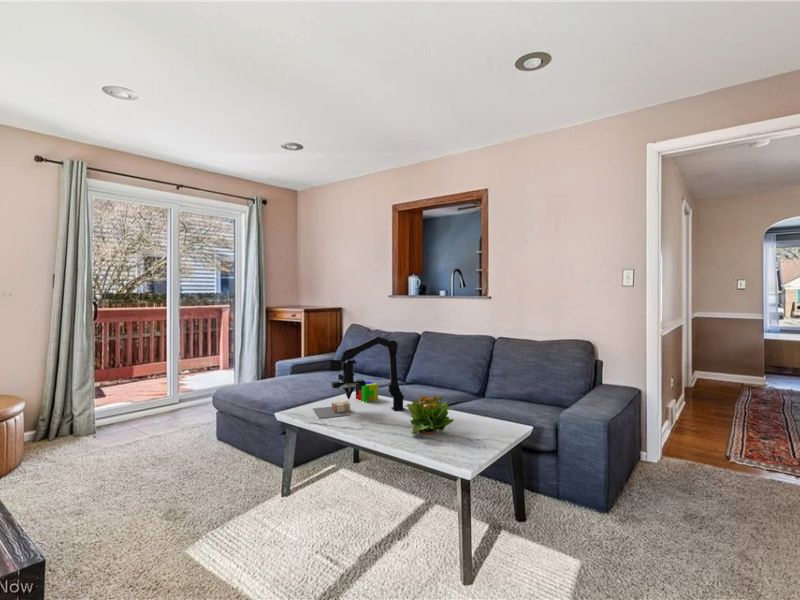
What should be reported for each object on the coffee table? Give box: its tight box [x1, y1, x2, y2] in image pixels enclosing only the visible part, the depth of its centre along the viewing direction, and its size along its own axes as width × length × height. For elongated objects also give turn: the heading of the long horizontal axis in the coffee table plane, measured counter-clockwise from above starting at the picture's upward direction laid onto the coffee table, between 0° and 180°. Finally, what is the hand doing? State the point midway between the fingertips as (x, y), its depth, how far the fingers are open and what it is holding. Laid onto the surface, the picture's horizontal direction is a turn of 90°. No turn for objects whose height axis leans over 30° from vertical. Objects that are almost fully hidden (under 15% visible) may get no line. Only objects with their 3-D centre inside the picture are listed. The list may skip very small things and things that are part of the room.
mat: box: [312, 406, 352, 419], centre depth 233 cm, size 20×17×1 cm
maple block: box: [331, 400, 351, 413], centre depth 235 cm, size 6×4×9 cm
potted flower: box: [405, 394, 454, 436], centre depth 201 cm, size 25×24×18 cm
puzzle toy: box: [355, 381, 379, 403], centre depth 262 cm, size 10×10×10 cm
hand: (348, 398), depth 237 cm, fingers closed
